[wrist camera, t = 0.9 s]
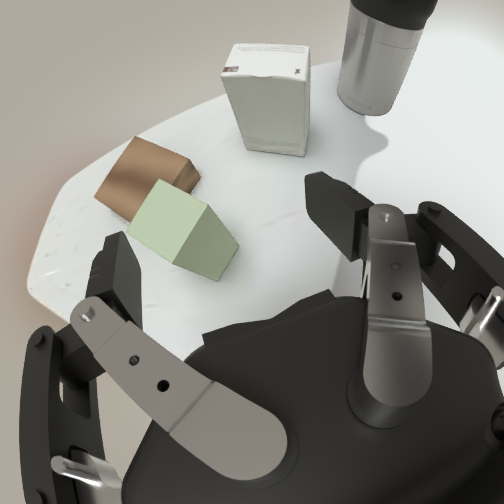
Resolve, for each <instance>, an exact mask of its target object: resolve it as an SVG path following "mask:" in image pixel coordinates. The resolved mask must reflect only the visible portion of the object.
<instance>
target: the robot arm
mask: <svg viewBox="0 0 504 504" xmlns="http://www.w3.org/2000/svg"><path fill="white" fill-rule="evenodd" d="M437 1H438V0H350V8H349V16H348V25H347V32H346V39H345V45H344V53H343V58H342V64H341V70H340V76H339V82H338V87H337V91H338V95H339V97H340V99H341V100H342V101H343V102H344V104H345V105H347V106H348V107H349V108H351V109H352V110H354V111H356V112H358V113H361V114H364V115H368V116H381V115H384V114H386V113H387V112H389V111H390V109H391V108H392V105H393V103H394V101H395V99H396V96H397V94H398V92H399V90H400V87H401V85H402V83H403V80H404V78H405V76H406V73H407V71H408V68H409V66H410V63H411V61H412V58H413V56H414V53H415V51H416V48H417V45H418V43H419V40H420V37H421V35H422V31H423V29H424V26H425V23H426V21H427V19H428V17H430V15H431V14H432V13H433V11H434V9H435V6H436V4H437ZM305 197H306V209H307V213H308V215H309V217H310V219H311V220H312V221H313V222H314V223H315V224H316V225H317V226H318V227H319V228H320V229H321V230H322V231H323V233H324V234H325V235H326V236H327V237H328V238H329V239H330V240H331V241H332V242H333V243H334V244H335V245H336V246H337V248H338V249H339V250H340V251H341V252H342V253H343V254H344V255H345V256H346V257H347V258H348V260H349V261H350V262H352V261H355V260H357V259H360V258H361V259H362V260H363V263H362V273H361V286H360V297H353V296H342V297H334V296H333V294H332V293H331V291H330V290H329V289H327V290H325V291H322V292H320V293H317V294H315V295H312V296H310V297H307V298H304V299H302V300H299V301H298V302H296V303H295V304H293V305H292V306H290V307H289V308H287V309H286V310H284V311H283V312H281V313H280V314H278V315H277V316H275V317H273V318H271V319H267V320H260V321H253V322H245V323H237V324H232V325H229V326H226V327H223V328H220V329H217V330H214V331H211V332H208V333H205V334H202V337H203V341H204V345H202V346H201V347H199V348H198V349H196V350H195V351H194V352H192V353H191V354H190V355H189V356H188V357H187V358H186V359H185V360H184V361H181V360H180V359H179V358H177V357H176V356H175V355H173V354H172V353H170V352H169V351H168V350H166V349H165V348H164V347H162V346H161V345H160V344H158V343H157V342H156V341H155V340H153V339H152V338H151V337H149V336H148V335H147V334H146V333H144V332H143V326H142V300H141V269H140V265H139V262H138V260H137V258H136V256H135V254H134V252H133V250H132V248H131V246H130V244H129V242H128V240H127V237H126V235H125V234H124V232H123V231H120V232H117V233H115V234H112V235H109V236H107V237H106V238H105V242H104V246H103V250H102V251H99V252H98V254H97V255H96V257H95V258H94V260H93V262H92V267H91V271H90V276H89V277H90V278H89V280H88V285H87V290H86V296H85V299H84V300H82V301H81V302H80V303H78V304H77V305H76V307H75V308H74V309H73V311H72V313H71V316H70V324H69V325H67V326H66V327H64V328H63V329H61V330H60V331H58V332H57V333H55V331H54V330H53V329H52V328H51V327H50V326H42V327H40V328H38V329H37V330H36V331H35V332H34V333H33V334H32V335H31V337H30V339H29V341H28V344H27V349H26V356H25V362H24V369H23V377H22V386H21V398H20V416H19V418H20V419H19V445H20V464H21V474H22V483H23V490H24V497H25V501H26V504H504V396H503V393H502V391H501V387H500V384H499V380H498V375H497V370H499V369H501V368H502V367H504V258H503V257H502V256H501V255H500V254H499V253H498V252H497V251H496V250H495V249H494V248H493V247H492V246H490V245H489V244H488V243H487V242H486V241H485V240H484V239H483V238H482V237H480V236H479V235H478V234H477V233H476V232H475V231H474V230H472V229H471V228H470V227H469V226H468V225H466V224H465V223H464V222H463V221H462V220H460V219H459V218H458V217H457V216H455V215H454V214H453V213H452V212H450V211H449V210H448V209H446V208H445V207H444V206H442V205H440V204H438V203H435V202H430V201H425V202H422V203H420V204H419V207H418V212H417V214H403V212H402V211H401V210H400V209H399V208H397V207H395V206H392V205H389V204H376V205H375V204H374V203H373V202H371V201H370V200H369V199H367V198H366V197H365V196H363V195H362V194H360V193H358V191H356V190H355V189H352V187H351V186H349V185H348V184H346V183H345V182H342V181H339V180H336V179H333V178H331V177H330V176H328V175H327V174H325V173H324V172H322V171H321V172H317V173H312V174H308V175H306V176H305ZM441 245H443V246H444V247H445V248H447V250H448V251H450V252H451V253H452V255H453V256H454V259H455V267H454V270H452V269H451V267H450V266H449V265H448V264H447V263H446V262H445V261H444V260H443V259H442V258H441V257H440V256H439V255H438V254H439V251H440V248H441ZM422 282H423V283H424V285H425V286H426V287H427V288H428V289H429V290H430V292H431V293H432V294H433V295H434V296H435V297H436V299H437V300H438V301H439V302H440V303H441V305H442V306H443V307H444V308H445V310H446V311H447V312H448V313H449V315H450V316H451V317H452V318H453V320H454V321H455V322H456V324H457V325H458V326H459V328H460V332H459V331H456V330H453V329H451V328H448V327H445V326H442V325H439V324H436V323H433V322H430V321H428V320H426V319H425V308H424V298H423V289H422ZM104 372H107V373H108V374H109V375H110V376H111V377H112V378H113V379H114V380H115V382H116V383H117V384H118V385H119V386H120V387H121V388H122V389H123V390H124V391H125V392H126V393H127V394H128V395H129V397H131V398H132V400H133V401H134V402H135V403H136V404H137V405H139V406H140V407H141V408H142V409H143V410H144V411H145V412H146V413H147V414H148V415H149V416H150V417H151V418H152V421H151V423H150V425H149V427H148V430H147V431H146V433H145V436H144V437H143V440H142V441H141V444H140V445H139V448H138V450H137V452H136V454H135V456H134V458H133V460H132V462H131V464H130V466H129V468H128V470H127V472H126V474H125V476H124V479H123V481H122V480H121V478H120V477H119V476H118V474H117V472H116V470H115V468H114V467H113V466H112V465H111V464H110V463H109V462H108V461H106V459H105V454H104V449H103V442H102V435H101V428H100V419H99V409H98V399H97V383H96V377H98V376H99V375H101V374H103V373H104ZM60 382H62V383H63V402H62V401H61V398H60V394H59V384H60Z"/></svg>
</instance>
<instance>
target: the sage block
mask: <svg viewBox="0 0 504 504" xmlns="http://www.w3.org/2000/svg"><path fill="white" fill-rule="evenodd" d="M126 233H128V234H129V235H131V236H132V237H134V238H135V239H136V240H138V241H139V242H141V243H142V244H144V245H145V246H147V247H148V248H149V249H151V250H152V251H154V252H155V253H157V254H158V255H160V256H161V257H163V258H164V259H166V260H167V261H169V262H170V263H172V264H174V265H177V266H179V267H182V268H184V269H187V270H189V271H192V272H194V273H197V274H199V275H202V276H205V277H207V278H210V279H212V280H215V281H219V279H220V277H221V276H222V274H223V272H224V271H225V269H226V267H227V266H228V264H229V262H230V260H231V259H232V257H233V255H234V254H235V252H236V250H237V249H238V247H239V245H238V243H237V242H236V241H235V239H234V238H233V237H232V235H231V234H230V233H229V231H228V230H227V229H226V227H225V226H224V225H223V223H222V222H221V221H220V219H219V218H218V217H217V215H216V214H215V213H214V211H213V210H212V209H211V207H210V206H209V205H208V204H207V203H205V202H203V201H201V200H199V199H197V198H195V197H193V196H191V195H190V194H188V193H186V192H184V191H182V190H180V189H178V188H176V187H174V186H172V185H170V184H168V183H166V182H165V181H163V180H161V179H158V181H157V182H156V184H155V185H154V187H153V188H152V190H151V191H150V193H149V194H148V196H147V198H146V199H145V201H144V202H143V204H142V205H141V207H140V209H139V210H138V212H137V213H136V215H135V217H134V218H133V220H132V222H131V223H130V225H129V227H128V228H127V230H126Z"/></svg>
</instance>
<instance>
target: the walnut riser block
mask: <svg viewBox="0 0 504 504" xmlns="http://www.w3.org/2000/svg"><path fill="white" fill-rule="evenodd" d="M200 178H201V176H200V175H199V173H198V172H197V170H196V168H195V167H194V165H193V164H192V162H191V161H190V159H188V158H186V157H184V156H182V155H179V154H177V153H175V152H172V151H170V150H168V149H165V148H163V147H161V146H158V145H156V144H154V143H151V142H149V141H146V140H144V139H141V138H139V137H136V136H135V137H134V138H133V139H132V141H131V142H130V143H129V145H128V146H127V148H126V149H125V150H124V152H123V153H122V155H121V156H120V157H119V159H118V160H117V162H116V163H115V165H114V166H113V168H112V169H111V171H110V172H109V174H108V175H107V177H106V178H105V180H104V181H103V183H102V184H101V186H100V188H99V189H98V191H97V192H96V194H95V196H94V198H96V199H97V200H98V201H100V202H101V203H103V204H104V205H106V206H107V207H109V208H110V209H111V210H113V211H114V212H116V213H117V214H119V215H120V216H122V217H123V218H125V219H126V220H128V221H129V222H132V220H133V218H134V217H135V215H136V213H137V212H138V210H139V209H140V207H141V205H142V204H143V202H144V201H145V199H146V198H147V196H148V194H149V193H150V191H151V190H152V188H153V187H154V185H155V184H156V182H157V181H158V179H161V180H163V181H165V182H166V183H168V184H170V185H172V186H174V187H176V188H178V189H180V190H182V191H184V192H186V193H188V194H190V192H191V191H192V189H193V188H194V186H195V185H196V183H197V182H198V181H199V179H200Z"/></svg>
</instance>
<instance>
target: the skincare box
mask: <svg viewBox="0 0 504 504" xmlns="http://www.w3.org/2000/svg"><path fill="white" fill-rule="evenodd" d="M221 79H222V82H223V84H224V87H225V90H226V92H227V95H228V98H229V101H230V103H231V106H232V109H233V112H234V115H235V117H236V120H237V123H238V126H239V129H240V131H241V134H242V137H243V140H244V143H245V146H246V149H247V150H257V151H265V152H274V153H281V154H289V155H297V156H302V157H303V156H304V155H305V149H306V143H307V137H308V130H309V122H310V48H309V46H298V45H281V44H234V46H233V49H232V51H231V53H230V56H229V58H228V60H227V63H226V65H225V68H224V70H223V72H222V75H221Z"/></svg>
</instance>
